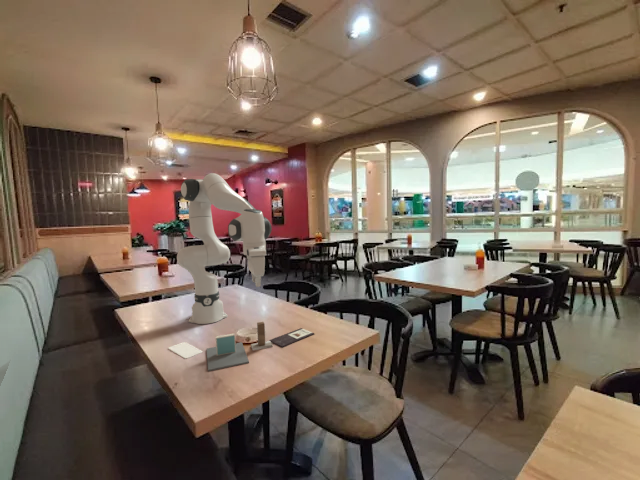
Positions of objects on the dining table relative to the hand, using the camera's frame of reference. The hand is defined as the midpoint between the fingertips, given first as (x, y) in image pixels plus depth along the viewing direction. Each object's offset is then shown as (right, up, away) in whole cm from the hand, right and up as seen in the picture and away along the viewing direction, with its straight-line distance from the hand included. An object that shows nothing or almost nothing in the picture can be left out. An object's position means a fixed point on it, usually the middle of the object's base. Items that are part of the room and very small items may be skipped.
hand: (256, 284), depth 120 cm
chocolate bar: (+13, -26, +11) cm, 31 cm away
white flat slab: (-29, -28, +1) cm, 40 cm away
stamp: (+2, -26, +3) cm, 26 cm away
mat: (-10, -27, -5) cm, 29 cm away
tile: (-11, -23, -4) cm, 26 cm away
